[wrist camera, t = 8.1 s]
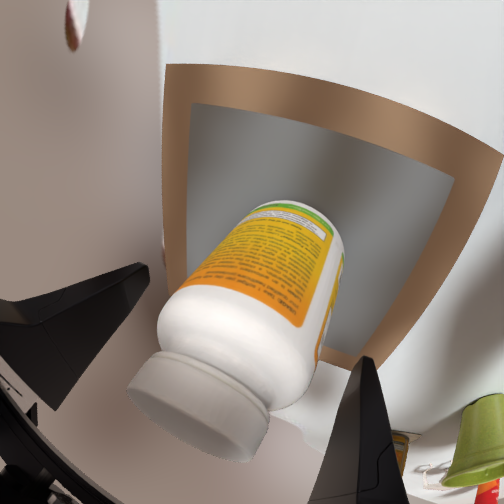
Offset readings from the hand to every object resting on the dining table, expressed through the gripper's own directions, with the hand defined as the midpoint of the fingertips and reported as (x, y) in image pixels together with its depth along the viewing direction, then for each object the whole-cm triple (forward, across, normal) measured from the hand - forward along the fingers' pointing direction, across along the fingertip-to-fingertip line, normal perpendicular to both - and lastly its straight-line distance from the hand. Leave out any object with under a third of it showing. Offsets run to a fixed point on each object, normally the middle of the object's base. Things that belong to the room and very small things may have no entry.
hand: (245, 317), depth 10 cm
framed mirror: (+9, 0, 0) cm, 9 cm away
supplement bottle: (+5, 0, 0) cm, 5 cm away
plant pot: (+9, -26, +13) cm, 31 cm away
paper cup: (+9, -62, +42) cm, 75 cm away
